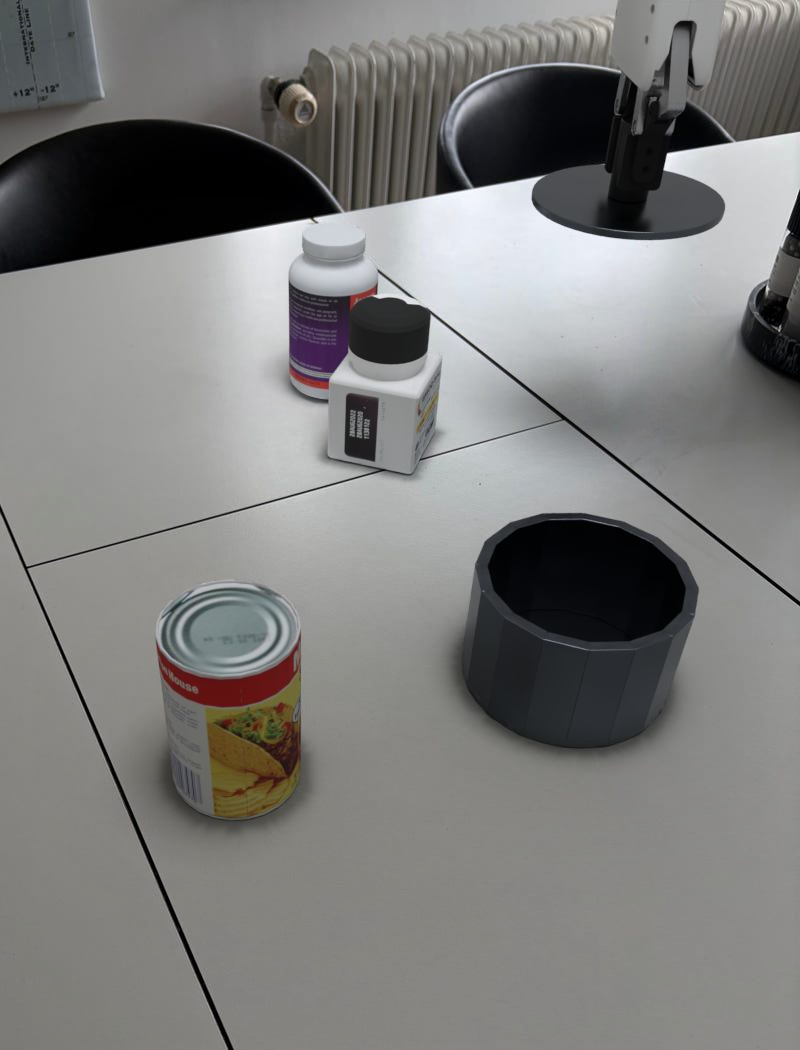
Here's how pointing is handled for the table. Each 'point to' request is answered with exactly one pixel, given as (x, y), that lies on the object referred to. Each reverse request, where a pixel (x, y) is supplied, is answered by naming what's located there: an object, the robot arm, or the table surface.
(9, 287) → the table surface
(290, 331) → the pill bottle
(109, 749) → the table surface
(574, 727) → the tin
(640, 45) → the robot arm
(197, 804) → the canned food
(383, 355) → the container
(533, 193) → the tin lid
